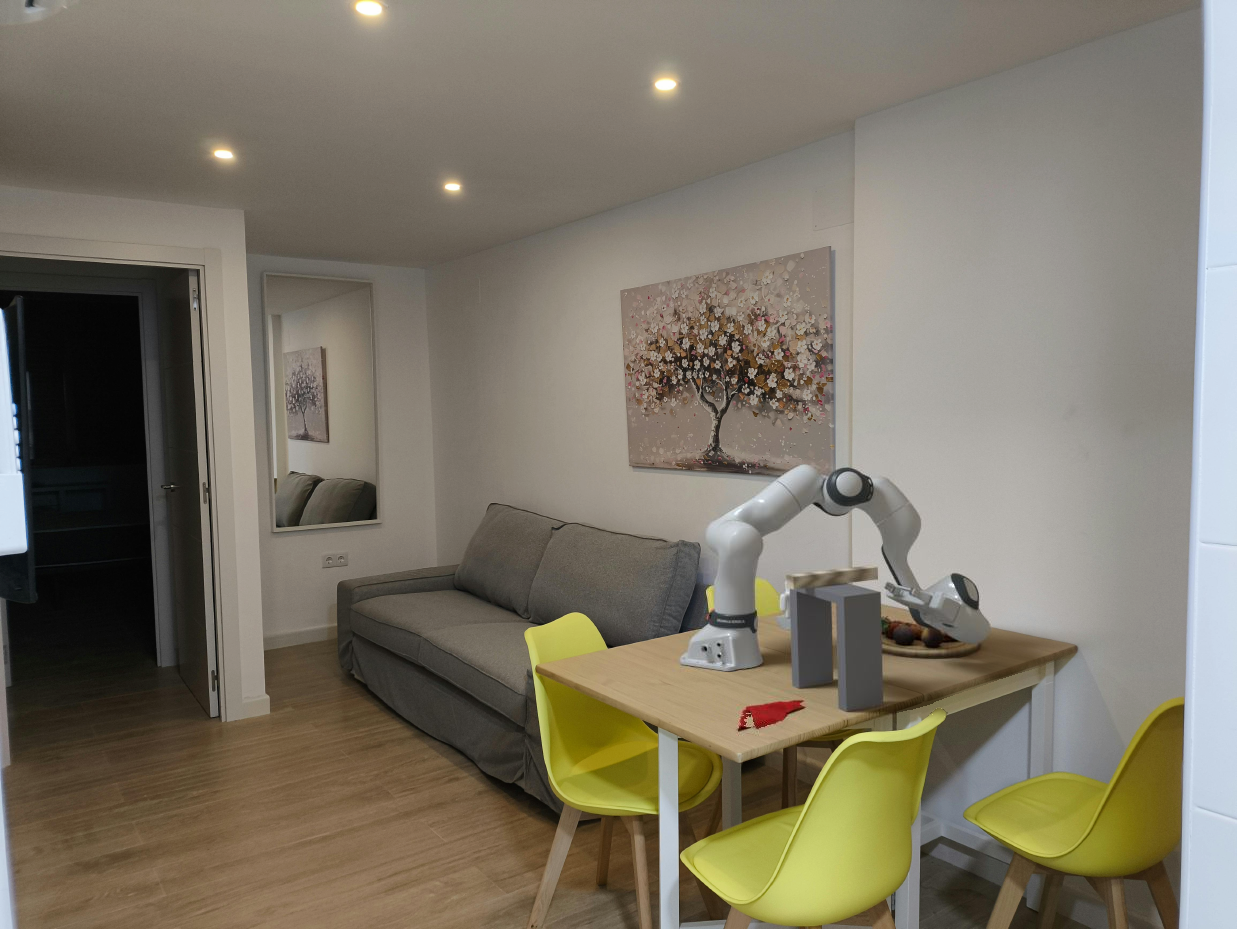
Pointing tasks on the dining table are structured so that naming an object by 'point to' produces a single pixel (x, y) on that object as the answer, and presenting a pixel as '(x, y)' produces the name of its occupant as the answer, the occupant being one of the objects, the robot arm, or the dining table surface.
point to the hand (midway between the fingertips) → (898, 587)
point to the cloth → (769, 712)
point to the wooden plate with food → (920, 641)
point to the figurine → (785, 619)
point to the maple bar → (831, 577)
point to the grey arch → (838, 642)
